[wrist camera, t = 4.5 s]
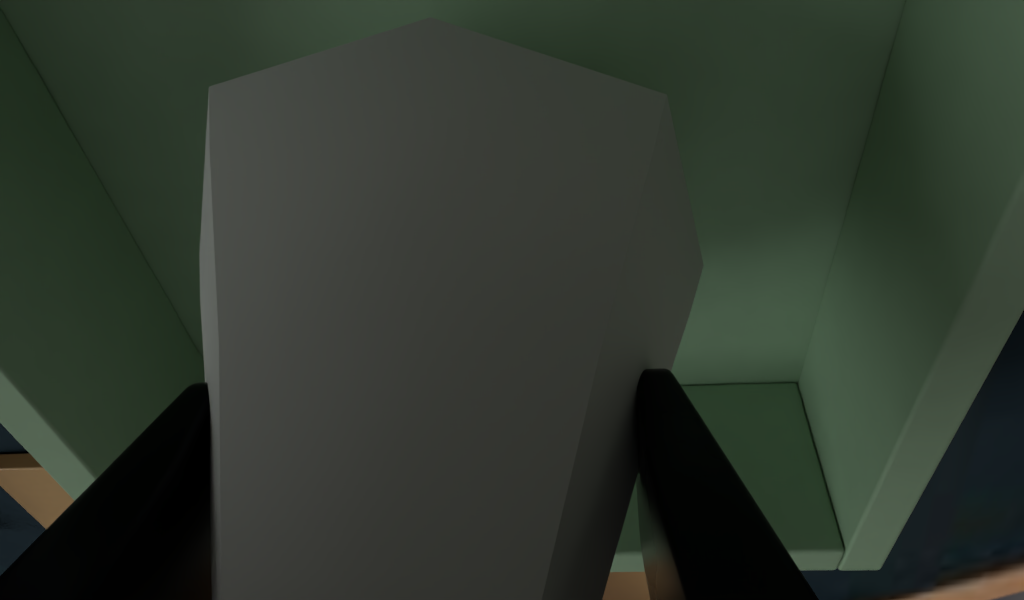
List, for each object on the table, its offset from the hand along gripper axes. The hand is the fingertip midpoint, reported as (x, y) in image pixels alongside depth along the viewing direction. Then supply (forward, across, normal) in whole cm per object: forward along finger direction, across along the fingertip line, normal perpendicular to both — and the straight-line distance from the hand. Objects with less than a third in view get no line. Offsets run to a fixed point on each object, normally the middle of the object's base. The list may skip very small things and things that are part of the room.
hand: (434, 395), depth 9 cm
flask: (+3, 0, 0) cm, 3 cm away
